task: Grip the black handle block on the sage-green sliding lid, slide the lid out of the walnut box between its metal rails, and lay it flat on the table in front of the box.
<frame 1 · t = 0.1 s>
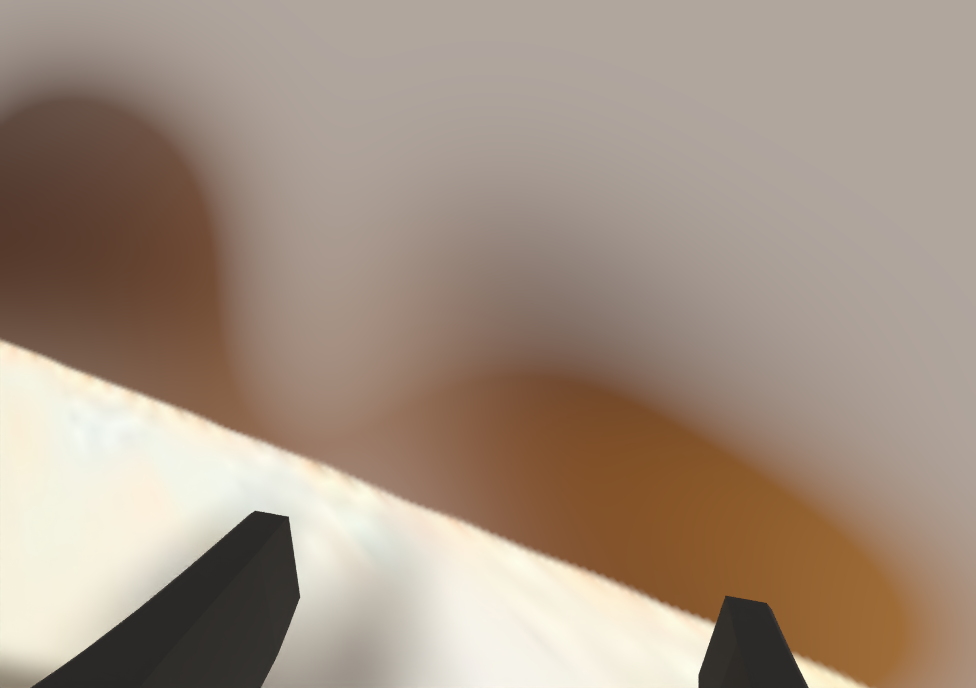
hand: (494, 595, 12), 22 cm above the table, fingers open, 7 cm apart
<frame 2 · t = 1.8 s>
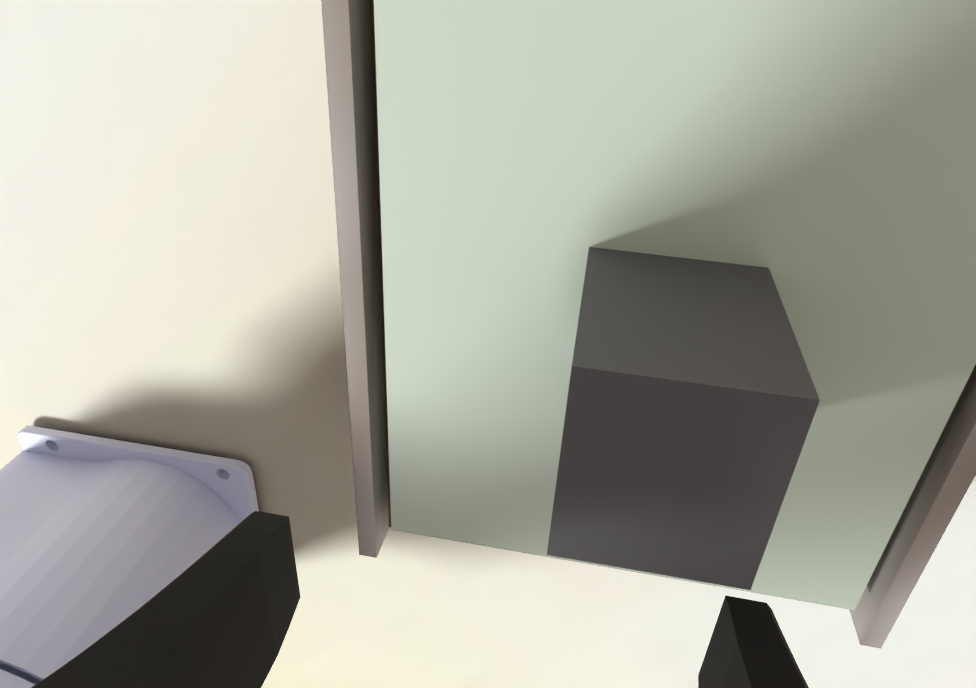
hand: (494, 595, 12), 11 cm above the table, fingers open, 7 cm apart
sliding lid: (658, 320, 16), point 4 cm above the table, touching wooden box
wooden box: (654, 250, 19), on the table
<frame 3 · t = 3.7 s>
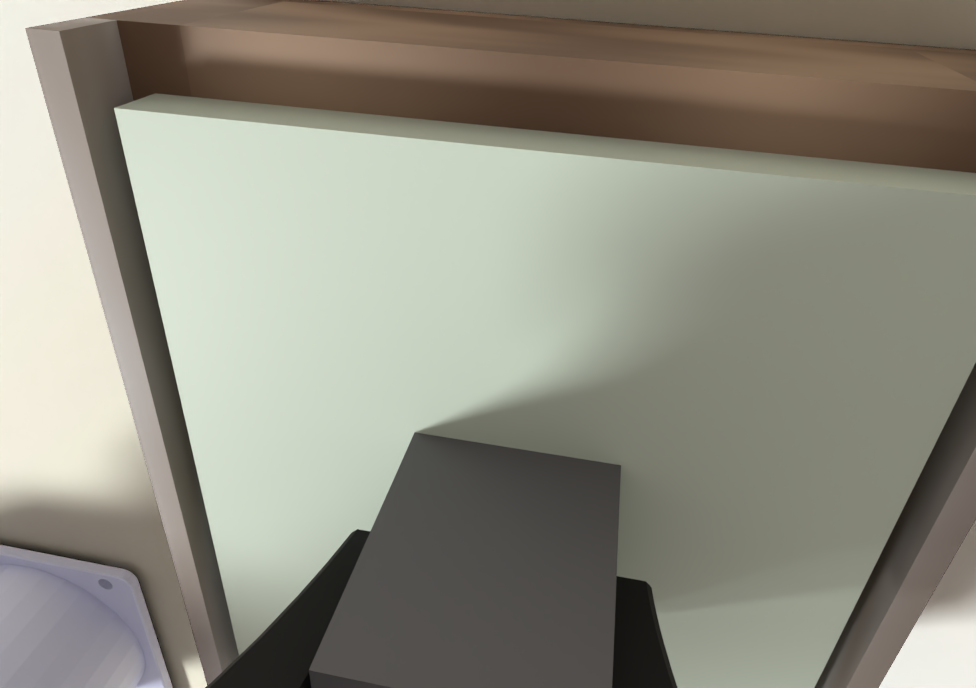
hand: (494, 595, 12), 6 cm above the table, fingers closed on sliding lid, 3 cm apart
sliding lid: (516, 495, 14), point 4 cm above the table, touching gripper, wooden box
wooden box: (541, 380, 17), on the table
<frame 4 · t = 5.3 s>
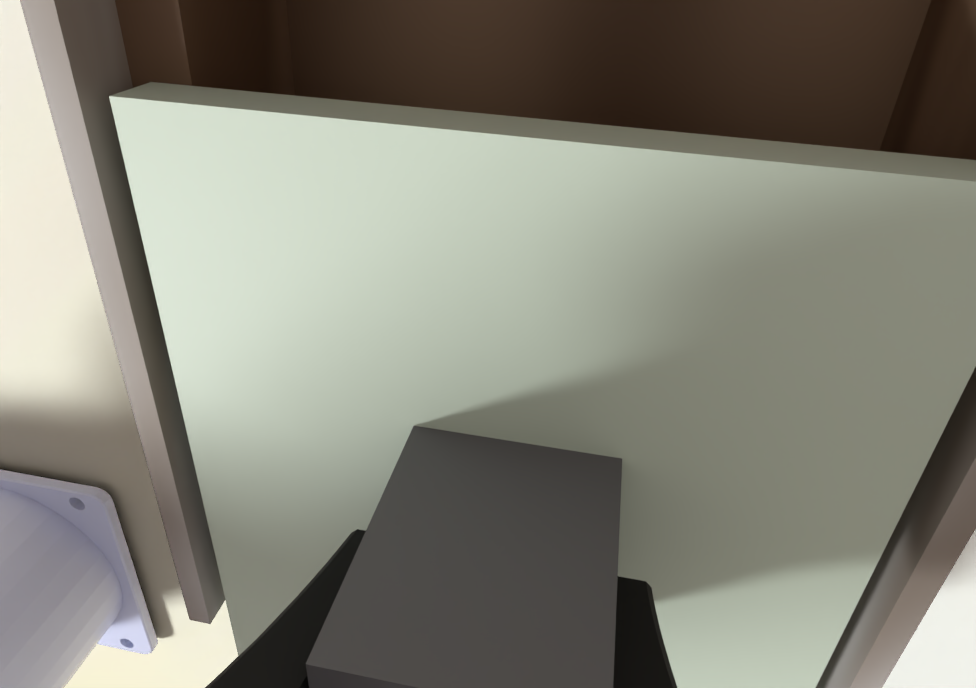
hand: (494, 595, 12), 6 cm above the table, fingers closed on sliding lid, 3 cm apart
sliding lid: (516, 489, 13), point 4 cm above the table, touching gripper
wooden box: (559, 238, 15), on the table
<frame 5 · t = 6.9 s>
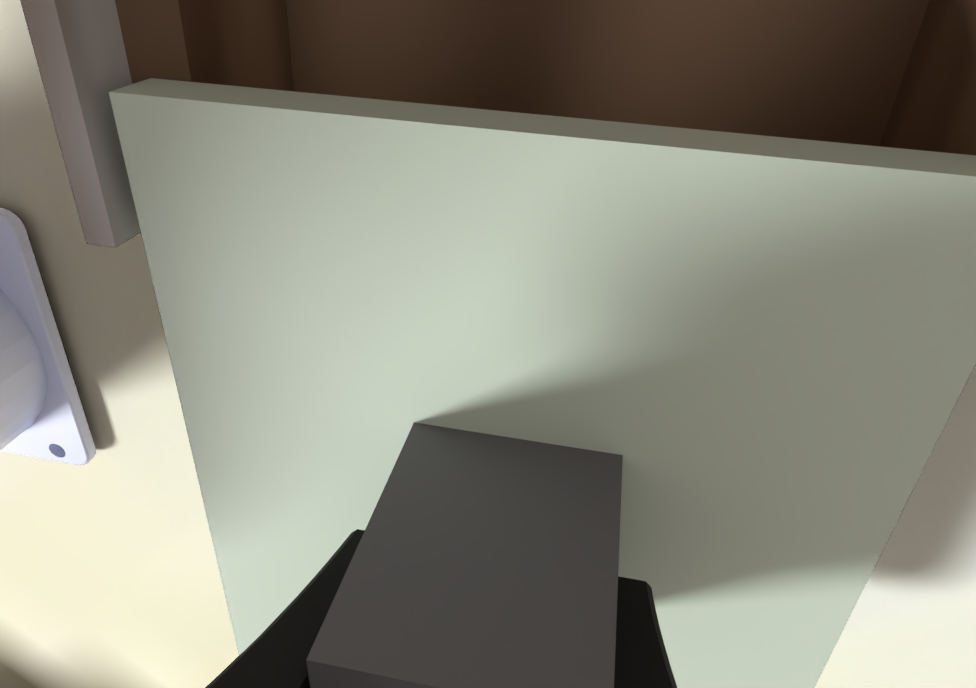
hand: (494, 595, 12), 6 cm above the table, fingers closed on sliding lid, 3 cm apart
sliding lid: (517, 486, 13), point 4 cm above the table, touching gripper
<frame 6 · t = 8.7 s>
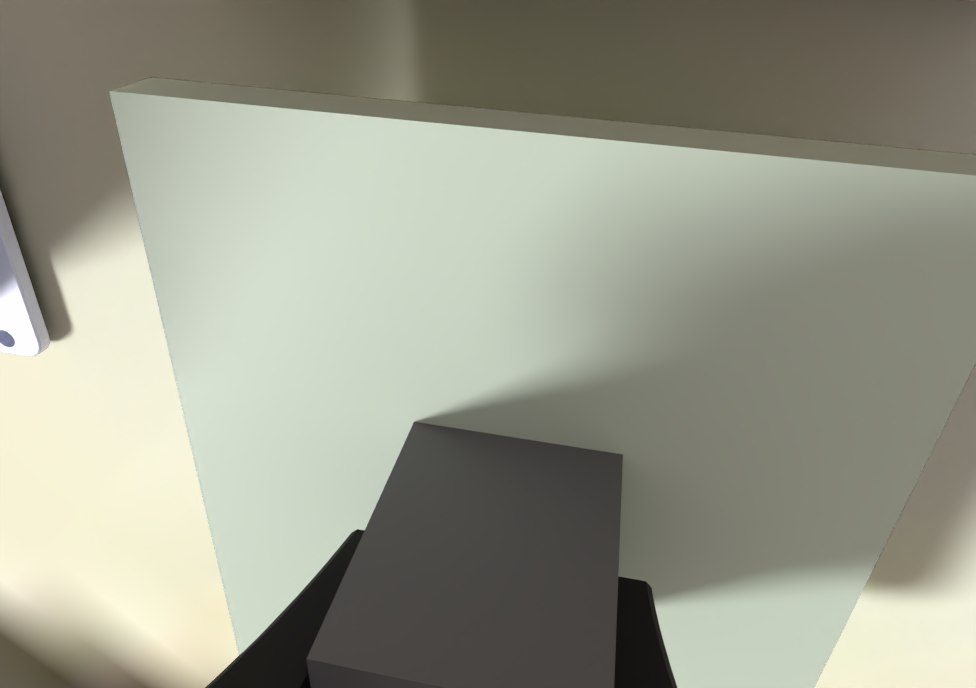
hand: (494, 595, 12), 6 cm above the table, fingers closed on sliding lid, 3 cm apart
sliding lid: (517, 486, 13), point 4 cm above the table, touching gripper
when the fingers open (3 cm above the table, at t = 10.2 s): sliding lid drops 2 cm, on the table.
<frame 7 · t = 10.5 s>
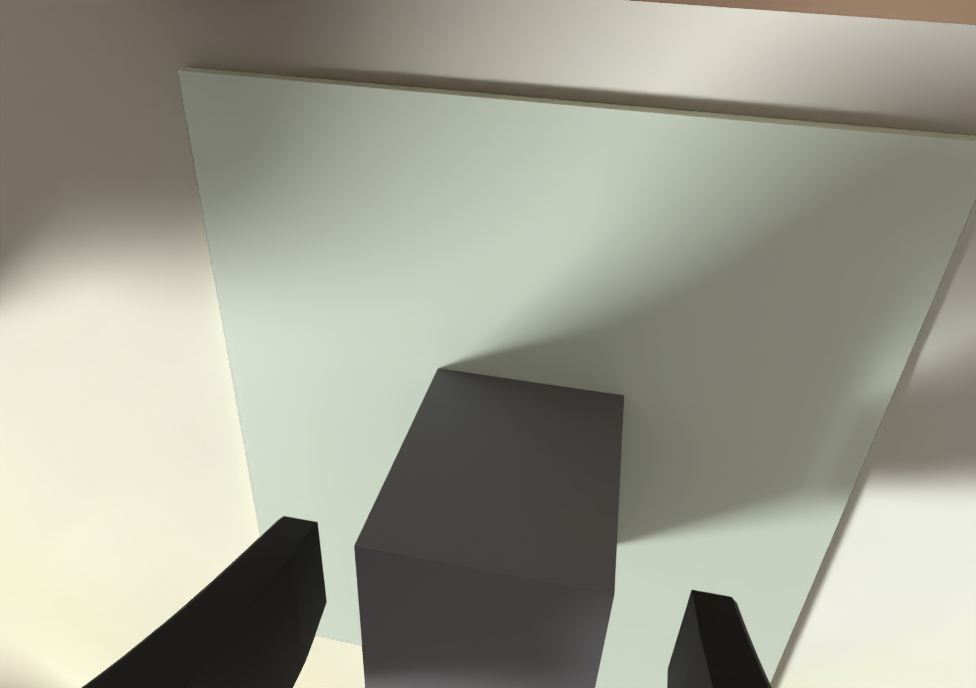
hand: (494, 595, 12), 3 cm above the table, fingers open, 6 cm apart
sliding lid: (528, 433, 15), on the table
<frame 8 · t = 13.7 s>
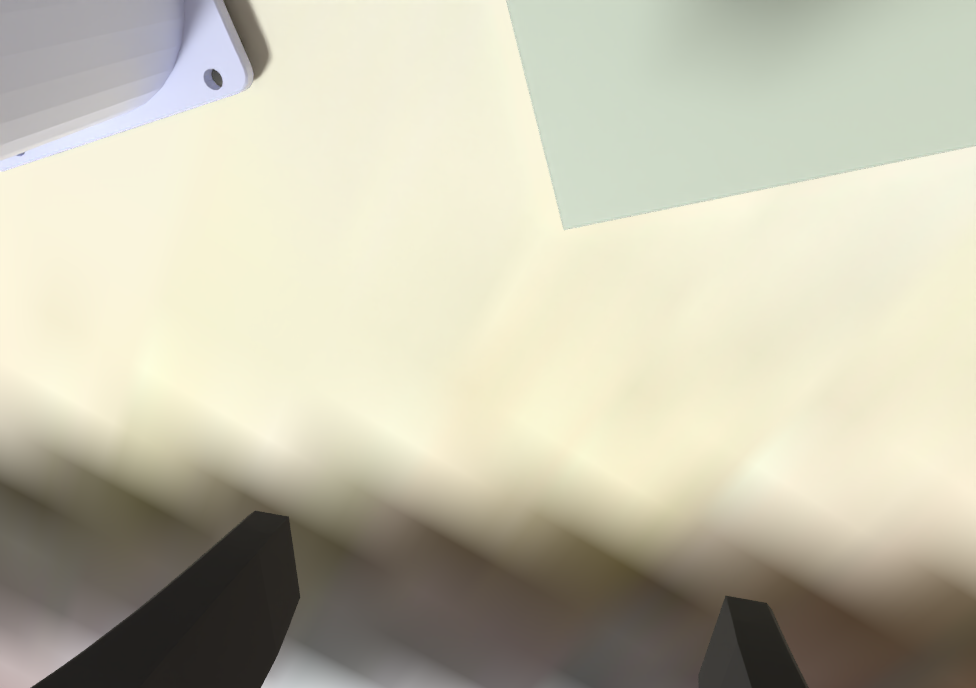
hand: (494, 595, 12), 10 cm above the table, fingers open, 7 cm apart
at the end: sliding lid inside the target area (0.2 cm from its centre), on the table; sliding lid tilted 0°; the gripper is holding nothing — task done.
